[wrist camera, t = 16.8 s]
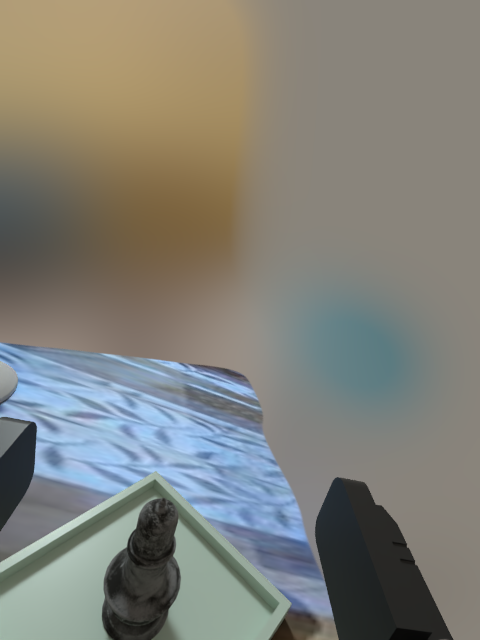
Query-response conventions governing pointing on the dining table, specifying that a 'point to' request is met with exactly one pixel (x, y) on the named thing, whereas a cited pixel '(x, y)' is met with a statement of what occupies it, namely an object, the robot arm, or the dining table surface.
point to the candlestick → (7, 381)
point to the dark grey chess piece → (143, 576)
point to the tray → (98, 551)
